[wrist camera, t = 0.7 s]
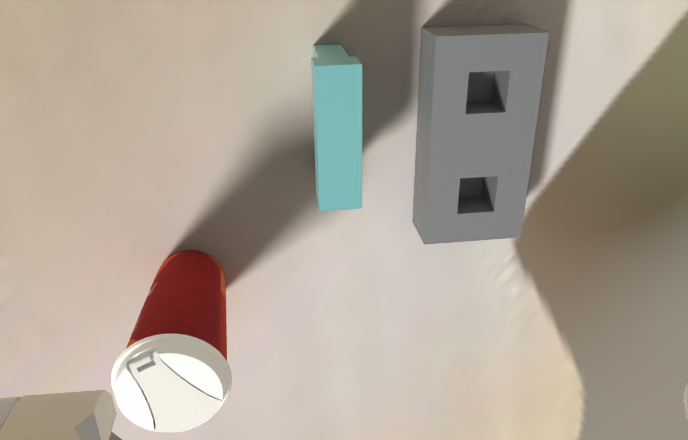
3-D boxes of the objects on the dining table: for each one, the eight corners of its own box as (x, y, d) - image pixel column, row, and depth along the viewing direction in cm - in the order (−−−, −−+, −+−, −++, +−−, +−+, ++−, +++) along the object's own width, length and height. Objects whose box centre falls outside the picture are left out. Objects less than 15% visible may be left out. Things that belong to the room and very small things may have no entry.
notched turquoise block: (306, 45, 43) (314, 66, 36) (347, 43, 43) (362, 64, 37) (311, 173, 47) (319, 211, 41) (348, 171, 48) (362, 208, 41)
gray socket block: (421, 27, 43) (436, 36, 40) (526, 23, 44) (549, 32, 41) (412, 221, 50) (424, 244, 47) (502, 215, 51) (520, 237, 48)
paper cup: (125, 263, 49) (80, 379, 36) (207, 223, 48) (190, 328, 36) (177, 330, 52) (152, 456, 40) (254, 293, 52) (253, 410, 39)
